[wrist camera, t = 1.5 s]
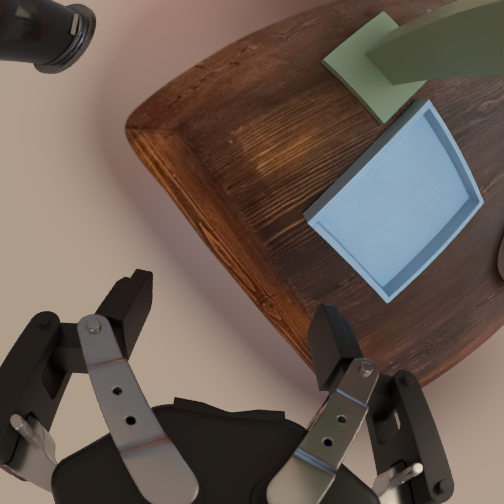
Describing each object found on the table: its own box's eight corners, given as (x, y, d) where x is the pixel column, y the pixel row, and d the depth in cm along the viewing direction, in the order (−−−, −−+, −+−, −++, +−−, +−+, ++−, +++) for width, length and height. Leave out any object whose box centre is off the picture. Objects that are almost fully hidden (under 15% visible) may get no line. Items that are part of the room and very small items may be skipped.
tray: (302, 213, 32) (307, 222, 29) (415, 99, 25) (429, 99, 22) (379, 291, 38) (387, 303, 35) (471, 196, 30) (484, 202, 28)
